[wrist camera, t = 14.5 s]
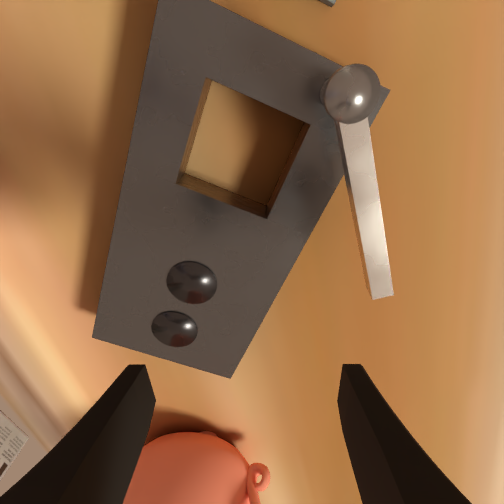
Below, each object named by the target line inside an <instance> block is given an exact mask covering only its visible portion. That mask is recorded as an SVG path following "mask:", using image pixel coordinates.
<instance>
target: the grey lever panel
mask: <svg viewBox="0 0 504 504" xmlns="http://www.w3.org/2000/svg"><path fill="white" fill-rule="evenodd" d="M342 67H343V66H341V65H339V64H337V63H335V62H333V61H331V60H329V59H327V58H325V57H323V56H321V55H319V54H317V53H314V52H312V51H310V50H308V49H306V48H304V47H302V46H300V45H298V44H296V43H294V42H292V41H290V40H288V39H286V38H284V37H282V36H280V35H278V34H276V33H274V32H272V31H270V30H268V29H266V28H264V27H262V26H260V25H258V24H256V23H254V22H252V21H250V20H248V19H246V18H244V17H242V16H240V15H238V14H236V13H234V12H232V11H230V10H228V9H226V8H224V7H222V6H220V5H218V4H216V3H213V2H211V1H209V0H158V5H157V10H156V15H155V20H154V25H153V30H152V35H151V40H150V46H149V51H148V56H147V61H146V66H145V71H144V76H143V81H142V86H141V91H140V96H139V101H138V106H137V111H136V116H135V122H134V127H133V132H132V137H131V142H130V147H129V152H128V157H127V162H126V167H125V172H124V177H123V182H122V187H121V193H120V198H119V203H118V208H117V213H116V218H115V223H114V228H113V233H112V238H111V243H110V248H109V253H108V258H107V263H106V269H105V274H104V279H103V284H102V289H101V294H100V299H99V304H98V309H97V314H96V319H95V324H94V329H93V334H92V338H95V339H98V340H102V341H105V342H109V343H112V344H115V345H119V346H122V347H125V348H129V349H132V350H135V351H139V352H142V353H146V354H149V355H152V356H156V357H159V358H162V359H166V360H169V361H173V362H176V363H179V364H183V365H186V366H189V367H193V368H196V369H199V370H203V371H206V372H210V373H213V374H216V375H220V376H223V377H226V378H230V379H231V377H232V375H233V373H234V371H235V370H236V368H237V366H238V364H239V362H240V361H241V359H242V357H243V355H244V353H245V352H246V350H247V348H248V346H249V344H250V342H251V341H252V339H253V337H254V335H255V333H256V332H257V330H258V328H259V326H260V324H261V323H262V321H263V319H264V317H265V315H266V314H267V312H268V310H269V308H270V306H271V305H272V303H273V301H274V299H275V297H276V296H277V294H278V292H279V290H280V288H281V287H282V285H283V283H284V281H285V279H286V278H287V276H288V274H289V272H290V270H291V269H292V267H293V265H294V263H295V261H296V260H297V258H298V256H299V254H300V252H301V250H302V249H303V247H304V245H305V243H306V241H307V240H308V238H309V236H310V234H311V232H312V231H313V229H314V227H315V225H316V223H317V222H318V220H319V218H320V216H321V214H322V213H323V211H324V209H325V207H326V205H327V204H328V202H329V200H330V198H331V196H332V195H333V193H334V191H335V189H336V187H337V186H338V184H339V182H340V180H341V178H342V177H343V175H344V170H343V165H342V159H341V154H340V149H339V144H338V139H337V134H336V129H335V124H334V119H333V118H331V117H330V116H329V115H328V113H327V112H326V110H325V108H324V105H323V103H322V102H321V100H320V89H321V87H322V85H323V83H324V82H325V81H326V80H327V79H329V78H330V76H331V75H332V74H333V73H334V72H335V71H337V70H338V69H340V68H342ZM212 80H213V81H216V82H218V83H220V84H222V85H224V86H227V87H229V88H231V89H233V90H235V91H238V92H240V93H242V94H244V95H247V96H249V97H251V98H253V99H255V100H258V101H260V102H262V103H264V104H266V105H269V106H271V107H273V108H275V109H277V110H280V111H282V112H284V113H286V114H288V115H291V116H293V117H295V118H297V119H299V120H302V121H304V125H303V127H302V129H301V131H300V133H299V136H298V138H297V140H296V142H295V144H294V147H293V149H292V151H291V153H290V155H289V158H288V160H287V162H286V164H285V167H284V169H283V171H282V173H281V175H280V178H279V180H278V182H277V184H276V186H275V189H274V191H273V193H272V195H271V197H270V200H269V202H268V204H267V206H265V205H263V204H260V203H258V202H255V201H253V200H250V199H248V198H245V197H243V196H240V195H238V194H235V193H233V192H230V191H228V190H225V189H223V188H220V187H217V186H215V185H212V184H210V183H207V182H205V181H202V180H200V179H197V178H195V177H192V176H190V175H187V174H185V170H186V166H187V163H188V160H189V156H190V153H191V149H192V146H193V143H194V139H195V136H196V132H197V129H198V126H199V122H200V119H201V115H202V112H203V109H204V105H205V102H206V99H207V95H208V92H209V88H210V85H211V82H212ZM389 92H390V90H389V89H387V88H385V87H383V86H381V85H380V97H379V101H378V103H377V105H376V107H375V109H374V110H373V112H372V113H371V114H370V115H369V116H368V123H369V128H370V126H371V124H372V122H373V121H374V119H375V117H376V115H377V113H378V112H379V110H380V108H381V106H382V104H383V103H384V101H385V99H386V97H387V95H388V94H389Z"/></svg>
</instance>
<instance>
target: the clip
mask: <svg viewBox="0 0 504 504" xmlns="http://www.w3.org/2000/svg"><path fill="white" fill-rule="evenodd" d="M379 97H380V82H379V79H378V76H377V74H376V73H375V72H374V71H373V70H372V69H371V68H370V67H368V66H366V65H363V64H351V65H347V66H344V67H342V68H340V69H338V70H337V71H335V72H334V73H333V74H332V75H331V76H330V78H329V79H327V80H326V81H325V82H324V83H323V85H322V87H321V89H320V100H321V102H322V103H323V105H324V108H325V110H326V112H327V113H328V115H329V116H330V117H331V118H333V119H334V124H335V129H336V134H337V139H338V144H339V149H340V154H341V159H342V165H343V170H344V175H345V180H346V185H347V190H348V195H349V200H350V206H351V211H352V216H353V221H354V226H355V231H356V236H357V241H358V247H359V252H360V257H361V262H362V267H363V272H364V277H365V282H366V287H367V290H368V292H369V294H370V296H371V298H372V300H374V299H378V298H383V297H387V296H391V295H394V293H393V287H392V280H391V273H390V266H389V259H388V252H387V246H386V239H385V232H384V225H383V218H382V211H381V205H380V198H379V191H378V184H377V177H376V170H375V164H374V157H373V150H372V143H371V136H370V129H369V123H368V116H369V115H370V114H371V113H372V112H373V110H374V109H375V107H376V105H377V103H378V101H379Z"/></svg>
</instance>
